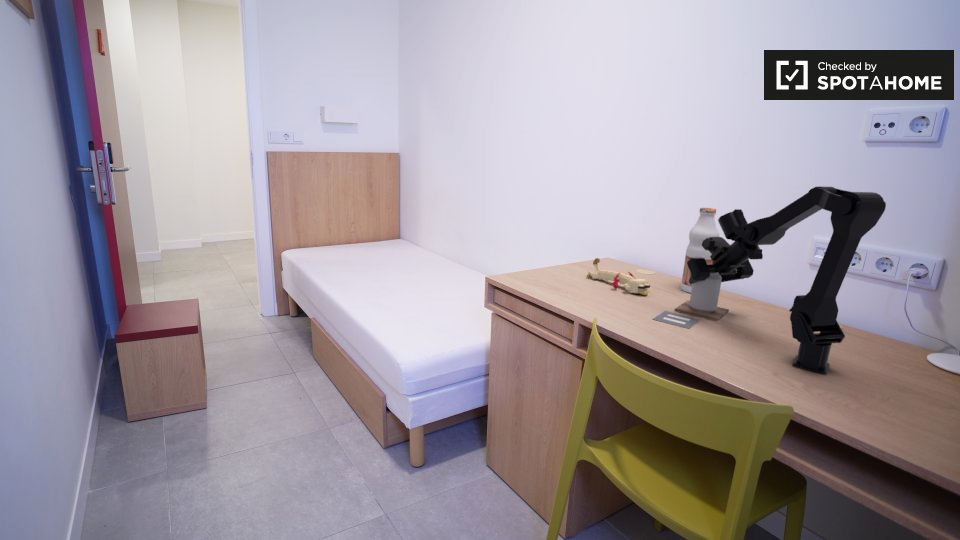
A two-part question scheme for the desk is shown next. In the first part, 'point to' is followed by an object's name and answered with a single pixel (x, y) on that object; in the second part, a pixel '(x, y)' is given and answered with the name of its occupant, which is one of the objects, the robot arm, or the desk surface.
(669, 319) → the tile
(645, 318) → the desk surface
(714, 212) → the fruit juice
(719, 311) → the board
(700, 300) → the can
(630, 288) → the cream voxel animal
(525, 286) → the desk surface
